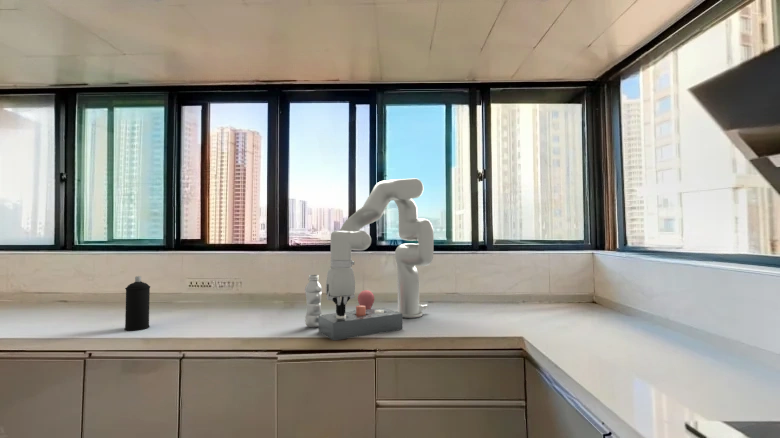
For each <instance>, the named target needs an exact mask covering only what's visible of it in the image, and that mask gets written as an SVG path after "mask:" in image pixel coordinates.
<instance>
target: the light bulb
mask: <svg viewBox="0 0 780 438" xmlns="http://www.w3.org/2000/svg"><path fill="white" fill-rule="evenodd" d="M357 301H358V306H360V305H363V306H366V310H367V309H372V306H373V304H374V302H375V294H373V292H372V291H371V290H368V289H365V290H364V289H363V290H362V291H361V292H360V293H358V296H357Z"/></svg>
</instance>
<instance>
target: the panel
mask: <svg viewBox="0 0 780 438" xmlns="http://www.w3.org/2000/svg"><path fill="white" fill-rule="evenodd" d="M375 310H384V313H380V314H376V313H375ZM396 311H397V310H396ZM396 311H395V310H393V309H389V308H387V307H378V308H371V309H367V310H366V315H364V316H356V310H352V311H345V315H346V318H340V319H337V318H336V315H337V313H336V312H335V313H328V314H322V315H319V326H318V333H321V335H323V336H325V337H327V338H328V339H330V340H331V341H338V340H344V339H345V340H346V339H351V338H357V337H358V338H359V337H364V336H370V335H377V334H382V333H383V334H384V333H389V332H390V333H391V332H395V331H401V330H404V328H403V318H402V313H399V312H396Z"/></svg>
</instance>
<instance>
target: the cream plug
mask: <svg viewBox="0 0 780 438" xmlns="http://www.w3.org/2000/svg"><path fill="white" fill-rule="evenodd" d="M375 313H376V314H380V313H384V310H375Z"/></svg>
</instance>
